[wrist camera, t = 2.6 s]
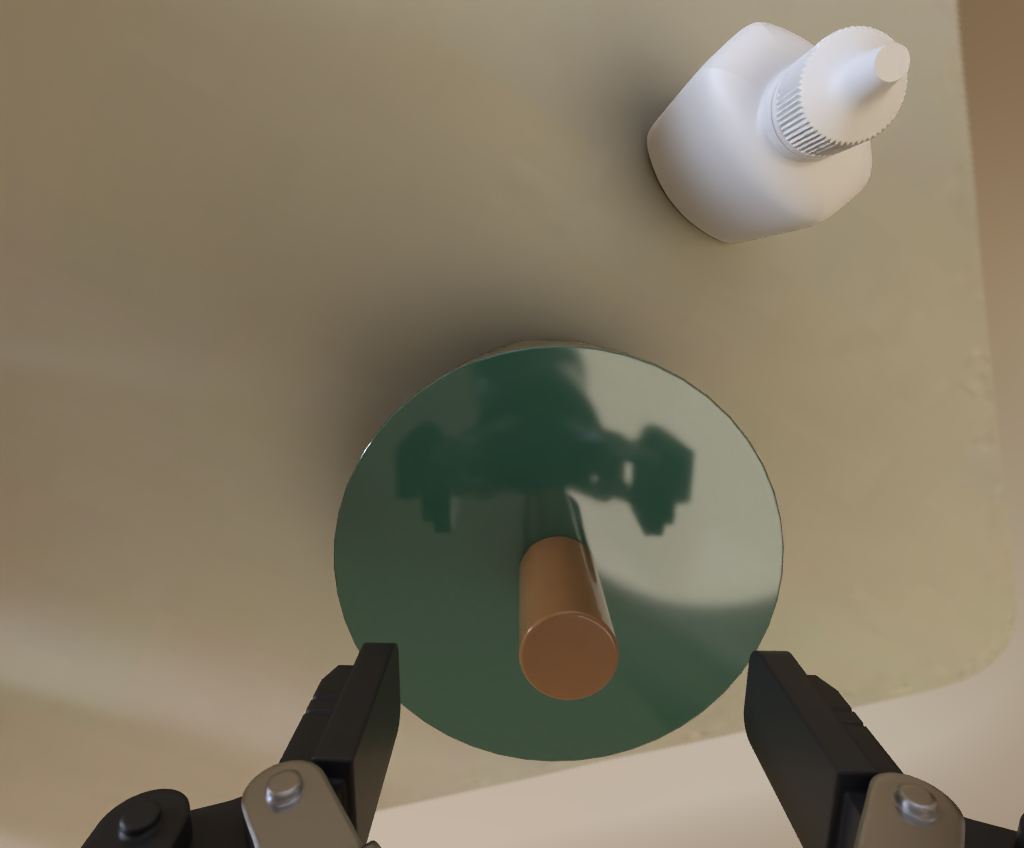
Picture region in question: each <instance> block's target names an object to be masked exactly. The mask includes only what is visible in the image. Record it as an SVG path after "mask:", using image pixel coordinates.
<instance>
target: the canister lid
mask: <svg viewBox="0 0 1024 848" xmlns="http://www.w3.org/2000/svg"><path fill="white" fill-rule="evenodd" d="M783 548H784V546H783V535H782V525H781V517H780V513H779V509H778V505H777V501H776V497H775V493H774V490H773V487H772V485H771V482H770V480H769V477H768V475H767V472H766V470H765V467H764V465H763V463H762V462H761V460H760V458H759V457H758V455H757V453H756V451H755V450H754V448H753V446H752V445H751V443H750V441H749V440H748V438H747V437H746V436H745V435H744V433H743V432H742V431H741V430H740V428H739V427H738V426H737V425H736V423H735V422H734V421H733V420H732V418H731V417H730V416H729V415H728V414H727V413H726V412H725V411H723V410H722V409H721V408H720V407H719V406H718V405H717V404H716V403H715V402H714V401H713V400H712V399H711V398H710V397H709V396H707V395H706V394H704V393H703V392H701V391H700V390H699V389H697V388H696V387H694V386H693V385H692V384H690V383H689V382H687V381H686V380H685V379H683V378H681V377H679V376H677V375H675V374H673V373H671V372H670V371H668V370H666V369H664V368H662V367H660V366H658V365H656V364H654V363H652V362H649V361H646V360H643V359H640V358H638V357H635V356H632V355H629V354H626V353H623V352H618V351H613V350H609V349H604V348H599V347H595V346H583V345H570V344H553V345H535V346H527V347H522V348H517V349H511V350H506V351H501V352H498V353H495V354H492V355H489V356H486V357H483V358H480V359H476V360H473V361H471V362H469V363H467V364H465V365H463V366H460V367H458V368H456V369H454V370H452V371H450V372H448V373H446V374H444V375H442V376H441V377H439V378H438V379H436V380H435V381H433V382H432V383H430V384H429V385H427V386H426V387H424V388H423V389H421V390H420V391H418V392H417V393H416V394H415V395H414V396H413V397H411V398H410V399H409V400H408V401H407V402H406V403H405V404H403V405H402V406H401V407H400V408H399V409H398V410H397V411H396V412H395V413H394V414H393V415H392V416H391V417H390V418H389V419H388V421H387V422H386V423H385V424H384V425H383V426H382V427H381V429H380V430H379V431H378V432H377V433H376V434H375V435H374V437H373V439H372V440H371V442H370V443H369V445H368V446H367V448H366V449H365V451H364V452H363V454H362V455H361V457H360V459H359V460H358V462H357V464H356V467H355V469H354V471H353V473H352V475H351V477H350V479H349V482H348V484H347V486H346V489H345V493H344V496H343V499H342V503H341V506H340V509H339V512H338V519H337V525H336V532H335V538H334V571H335V578H336V586H337V594H338V597H339V601H340V605H341V608H342V612H343V615H344V619H345V622H346V624H347V626H348V629H349V631H350V633H351V636H352V638H353V640H354V643H355V645H356V646H357V648H358V650H359V651H360V650H361V648H362V646H363V644H364V643H365V642H367V643H397V644H398V649H399V673H400V703H401V704H402V705H403V706H405V707H406V708H407V709H408V710H410V711H411V712H412V713H414V714H415V715H416V716H418V717H419V718H420V719H422V720H423V721H424V722H426V723H427V724H429V725H431V726H432V727H434V728H436V729H437V730H439V731H441V732H443V733H444V734H446V735H448V736H450V737H452V738H454V739H457V740H459V741H461V742H463V743H466V744H468V745H470V746H473V747H476V748H479V749H482V750H486V751H489V752H492V753H495V754H499V755H504V756H509V757H515V758H520V759H526V760H539V761H576V760H585V759H591V758H598V757H605V756H609V755H613V754H616V753H620V752H624V751H628V750H631V749H634V748H637V747H639V746H642V745H644V744H647V743H649V742H652V741H654V740H657V739H659V738H661V737H663V736H665V735H666V734H668V733H670V732H672V731H674V730H676V729H678V728H680V727H681V726H683V725H684V724H686V723H687V722H689V721H690V720H691V719H693V718H694V717H696V716H697V715H699V714H700V713H702V712H703V711H704V710H705V709H706V708H708V707H709V706H710V705H711V704H712V703H713V702H714V701H715V700H717V699H718V698H719V697H720V696H721V695H722V694H723V693H724V692H725V691H726V690H727V689H728V688H729V687H730V685H731V684H732V683H733V682H734V681H735V680H736V679H737V677H738V676H739V675H740V674H741V673H742V671H743V670H744V668H745V667H746V665H747V664H748V662H749V659H750V655H751V653H752V652H753V651H756V650H757V648H758V646H759V644H760V642H761V640H762V638H763V636H764V634H765V632H766V630H767V628H768V626H769V623H770V620H771V617H772V615H773V612H774V609H775V606H776V603H777V599H778V594H779V588H780V583H781V578H782V569H783Z"/></svg>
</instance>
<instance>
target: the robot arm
mask: <svg viewBox="0 0 1024 848" xmlns="http://www.w3.org/2000/svg"><path fill="white" fill-rule="evenodd" d="M399 719H400V673H399V649H398V644H397V643H367V642H365V643H364V644H363V646H362V648H361V650H360V652H359V654H358V657H357V659H356V661H355V663H354V665H338V666H337V667H336V668H335V669H334V670H332V671H331V672H330V673H329V674H328V675H327V676H325V677H324V678H323V679H322V680H321V682H320V684H319V686H318V688H317V690H316V692H315V694H314V696H313V700H311V702H310V704H309V706H308V707H307V709H306V714H304V715H303V717H302V719H301V721H300V723H299V725H298V727H297V729H296V731H295V733H294V735H293V737H292V739H291V741H290V742H289V744H288V746H287V748H286V750H285V752H284V754H283V756H282V758H281V760H280V762H279V764H276V765H274V766H272V767H270V768H268V769H266V770H264V771H263V772H261V773H260V774H259V775H257V776H256V777H255V778H254V779H253V780H252V781H251V782H250V783H249V785H248V786H247V787H246V789H245V791H244V793H243V796H242V797H239V798H237V799H234V800H231V801H227V802H224V803H220V804H215V805H211V806H207V807H203V808H199V809H195V810H190V805H189V801H188V799H187V797H186V796H185V795H184V794H183V793H181V792H179V791H177V790H172V789H157V790H152V791H147V792H144V793H141V794H139V795H136V796H134V797H132V798H130V799H128V800H126V801H124V802H123V803H121V804H119V805H118V806H116V807H115V808H114V809H113V810H111V811H110V812H109V813H108V814H107V815H106V816H105V817H104V818H103V819H102V820H101V821H100V822H99V824H98V825H97V826H96V828H95V829H94V830H93V832H92V833H91V835H90V836H89V837H88V839H87V840H86V841H85V843H84V844H83V846H82V847H81V848H381V847H380V845H379V844H378V843H377V842H376V841H370V842H369V843H367V844H366V842H367V839H368V836H369V832H370V828H371V825H372V821H373V817H374V814H375V811H376V807H377V803H378V800H379V796H380V793H381V789H382V786H383V782H384V779H385V775H386V771H387V768H388V764H389V761H390V757H391V754H392V750H393V746H394V743H395V739H396V736H397V732H398V726H399ZM744 723H745V729H746V733H747V737H748V740H749V742H750V744H751V746H752V748H753V750H754V752H755V754H756V756H757V758H758V760H759V762H760V764H761V766H762V768H763V770H764V771H765V773H766V775H767V777H768V779H769V781H770V783H771V785H772V787H773V789H774V791H775V793H776V795H777V797H778V799H779V801H780V803H781V805H782V807H783V809H784V811H785V813H786V815H787V817H788V819H789V821H790V822H791V824H792V827H793V828H794V830H795V832H796V834H797V836H798V838H799V840H800V842H801V844H802V846H803V848H1024V814H1023V815H1022V816H1021V819H1020V822H1019V827H1018V831H1013V830H1009V829H1006V828H1002V827H998V826H994V825H990V824H987V823H983V822H979V821H975V820H972V819H968V818H965V817H963V815H962V813H961V811H960V809H959V808H958V807H957V805H956V804H955V803H954V802H953V801H952V800H951V799H950V798H949V797H948V796H946V795H945V794H944V793H943V792H941V791H940V790H938V789H937V788H936V787H934V786H932V785H930V784H929V783H927V782H925V781H922V780H920V779H918V778H915V777H912V776H909V775H905V774H903V772H902V771H901V770H900V769H899V767H898V766H897V765H896V764H895V762H894V761H893V760H892V759H891V757H890V756H889V755H888V754H887V752H886V751H885V750H884V749H883V747H882V746H881V745H880V744H879V742H878V741H877V740H876V739H875V737H874V736H873V735H872V734H871V732H870V731H869V730H868V728H867V727H864V726H863V722H862V721H861V720H860V719H859V717H858V716H857V715H856V713H855V712H852V710H851V707H850V706H849V705H848V703H847V702H846V701H845V700H844V698H843V697H842V696H841V695H840V693H839V692H838V691H837V690H836V689H834V688H833V687H832V686H830V685H829V684H827V683H826V682H825V681H823V680H822V679H820V678H819V677H818V676H816V675H807V674H806V673H805V672H804V670H803V669H802V668H801V666H800V665H799V664H798V662H797V661H796V660H795V658H794V657H793V656H792V654H791V653H789V652H788V651H753V652H752V653H751V655H750V659H749V668H748V677H747V686H746V696H745V705H744Z"/></svg>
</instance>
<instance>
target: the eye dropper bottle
mask: <svg viewBox="0 0 1024 848" xmlns="http://www.w3.org/2000/svg"><path fill="white" fill-rule="evenodd" d="M909 65H910V55H909V52H908V50H907V49H906V47H904V46H903V45H901V44H899V43H895V42H894V40H892V39H891V38H890V36H887V35H886V33H882V31H881V30H879V31H878V30H877V29H876V28H874V29H872V28H871V27H868V28H867V27H865V26H862V27H860V26H856V27H853V26H851V27H850V28H847V27H846V28H844V29H840V30H838V31H837V32H833V33H832V34H831V35H828V36H827V37H826V38H824V39H822V40H821V41H820V42H819V43H818V44H816V45H815V46H814V45H812V44H811V43H809V42H808V41H806V40H805V39H803V38H801V37H800V36H798V35H796V34H794V33H792V32H790V31H788V30H786V29H784V28H781V27H779V26H776V25H773V24H770V23H763V22H755V23H752V24H750V25H748V26H746V27H744V28H743V29H742V30H740V31H739V32H738V33H737V34H736V35H734V36H733V37H732V38H731V39H730V40H729V41H728V42H726V43H725V44H724V45H723V46H722V47H721V48H720V49H719V50H718V51H717V52H716V53H715V54H714V55H713V56H712V57H711V58H710V59H709V60H708V61H707V62H706V63H705V64H704V65H703V66H702V67H701V68H700V69H699V70H698V71H697V73H696V74H695V75H694V76H693V77H692V78H691V79H690V81H689V82H688V83H687V84H686V85H685V86H684V88H683V89H682V90H681V91H680V92H679V94H678V95H677V96H676V97H675V98H674V100H673V101H672V102H671V103H670V104H669V106H668V107H667V108H666V109H665V111H664V112H663V113H662V114H661V115H660V117H659V118H658V119H657V120H656V122H655V123H654V124H653V125H652V127H651V129H650V130H649V132H648V134H647V148H648V153H649V156H650V160H651V163H652V166H653V168H654V171H655V173H656V176H657V178H658V180H659V182H660V184H661V186H662V188H663V190H664V191H665V193H666V195H667V196H668V198H669V199H670V200H671V202H672V203H673V204H674V206H675V207H676V208H677V209H678V210H679V211H680V212H681V214H682V215H683V216H684V217H686V218H687V219H688V220H689V221H690V222H691V223H692V224H694V225H695V226H696V227H698V228H699V229H700V230H702V231H703V232H705V233H707V234H708V235H710V236H712V237H714V238H716V239H718V240H720V241H723V242H725V243H739V242H744V241H749V240H754V239H759V238H763V237H768V236H773V235H777V234H782V233H786V232H791V231H795V230H799V229H803V228H806V227H810V226H813V225H815V224H817V223H820V222H822V221H824V220H826V219H828V218H829V217H830V216H832V215H833V214H834V213H836V212H837V211H838V210H839V209H841V208H842V207H843V206H844V205H845V204H846V203H848V202H849V201H850V200H851V199H852V198H853V197H855V196H856V195H857V194H858V193H859V192H860V191H861V190H862V189H863V188H864V187H865V185H866V184H867V182H868V180H869V179H870V175H871V170H872V152H871V143H870V139H872V138H874V137H875V136H876V135H878V134H880V132H881V131H883V130H885V128H886V126H889V124H890V122H891V121H893V119H894V116H896V115H897V112H898V110H900V107H901V104H903V99H904V98H905V92H906V86H907V80H908V78H907V73H908V72H907V70H908V68H909Z"/></svg>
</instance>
